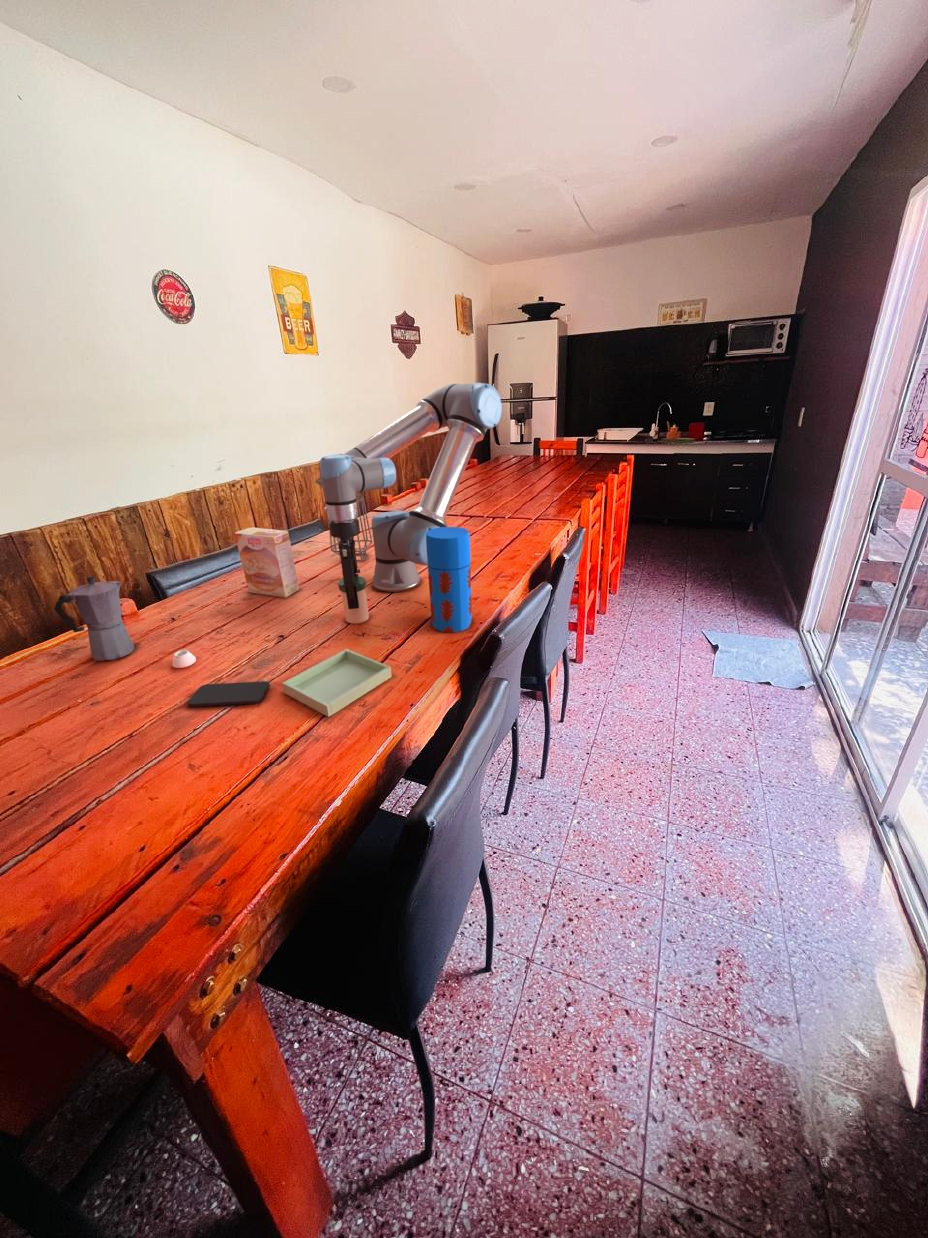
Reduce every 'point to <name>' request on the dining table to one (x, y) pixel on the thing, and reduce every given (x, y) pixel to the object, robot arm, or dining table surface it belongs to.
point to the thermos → (449, 578)
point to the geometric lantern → (358, 534)
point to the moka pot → (99, 618)
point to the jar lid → (359, 583)
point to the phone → (229, 694)
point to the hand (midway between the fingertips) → (354, 602)
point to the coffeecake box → (267, 561)
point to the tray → (337, 681)
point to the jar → (359, 613)
